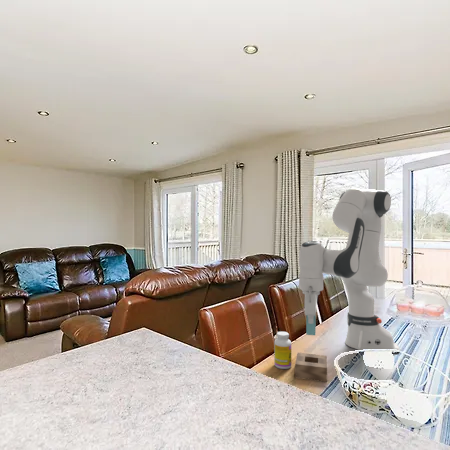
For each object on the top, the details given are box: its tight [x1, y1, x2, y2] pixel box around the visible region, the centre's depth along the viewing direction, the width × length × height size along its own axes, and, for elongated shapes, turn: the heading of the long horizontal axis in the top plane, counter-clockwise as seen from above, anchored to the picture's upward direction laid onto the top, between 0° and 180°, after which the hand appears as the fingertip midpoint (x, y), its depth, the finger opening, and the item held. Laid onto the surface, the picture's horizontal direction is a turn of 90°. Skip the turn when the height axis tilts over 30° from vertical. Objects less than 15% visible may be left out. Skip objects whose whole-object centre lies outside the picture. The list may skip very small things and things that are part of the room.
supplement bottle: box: [273, 331, 292, 370], centre depth 124 cm, size 7×7×13 cm
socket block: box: [294, 352, 328, 383], centre depth 118 cm, size 11×11×5 cm
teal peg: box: [305, 314, 317, 336], centre depth 118 cm, size 3×3×12 cm
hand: (311, 321), depth 118 cm, fingers closed on teal peg, 3 cm apart
